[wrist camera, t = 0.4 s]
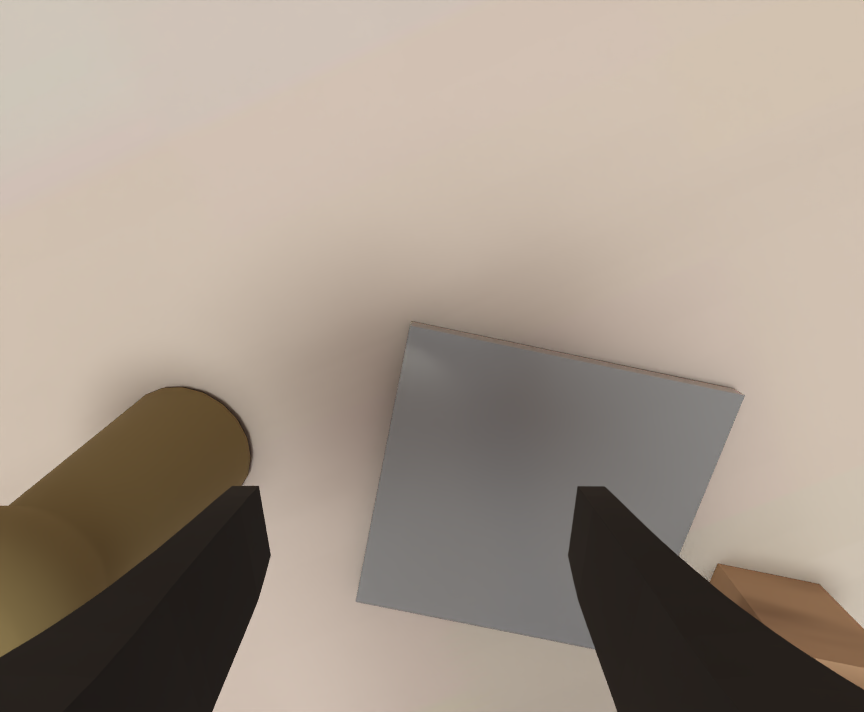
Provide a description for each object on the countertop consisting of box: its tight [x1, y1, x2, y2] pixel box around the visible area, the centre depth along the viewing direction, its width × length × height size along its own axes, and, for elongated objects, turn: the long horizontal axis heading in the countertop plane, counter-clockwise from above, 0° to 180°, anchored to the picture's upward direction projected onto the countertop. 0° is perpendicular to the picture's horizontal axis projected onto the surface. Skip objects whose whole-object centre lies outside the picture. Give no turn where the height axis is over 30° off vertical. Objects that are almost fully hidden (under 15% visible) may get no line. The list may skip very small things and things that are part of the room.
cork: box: [0, 387, 250, 657], centre depth 17 cm, size 6×6×11 cm
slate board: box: [356, 321, 745, 649], centre depth 22 cm, size 14×14×1 cm
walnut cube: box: [710, 564, 864, 689], centre depth 22 cm, size 5×5×5 cm
